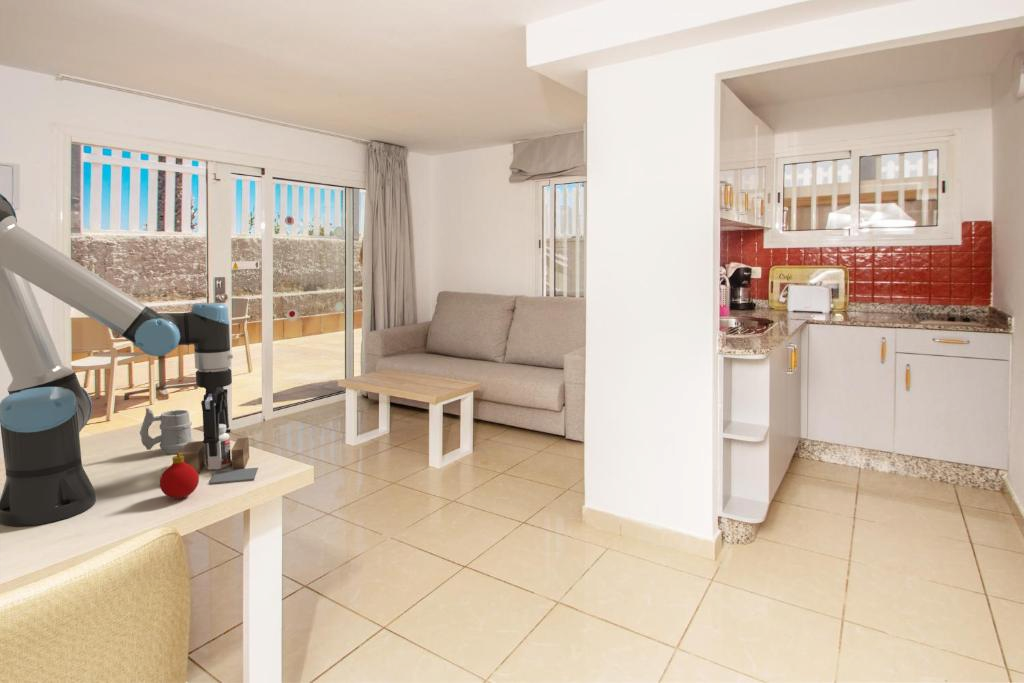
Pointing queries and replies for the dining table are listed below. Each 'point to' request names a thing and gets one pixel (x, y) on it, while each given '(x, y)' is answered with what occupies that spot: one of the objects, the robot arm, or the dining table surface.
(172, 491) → the christmas ornament
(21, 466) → the robot arm
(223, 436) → the pill bottle
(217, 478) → the pad
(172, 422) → the mug
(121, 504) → the dining table surface
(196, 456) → the block
